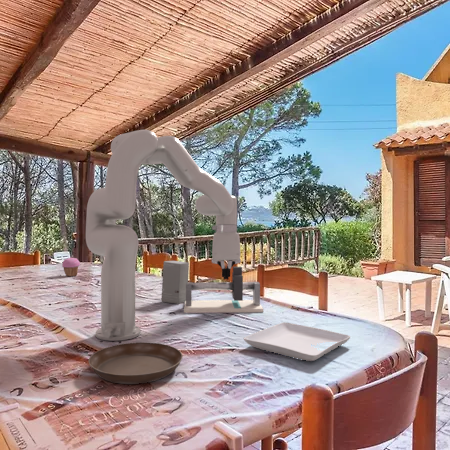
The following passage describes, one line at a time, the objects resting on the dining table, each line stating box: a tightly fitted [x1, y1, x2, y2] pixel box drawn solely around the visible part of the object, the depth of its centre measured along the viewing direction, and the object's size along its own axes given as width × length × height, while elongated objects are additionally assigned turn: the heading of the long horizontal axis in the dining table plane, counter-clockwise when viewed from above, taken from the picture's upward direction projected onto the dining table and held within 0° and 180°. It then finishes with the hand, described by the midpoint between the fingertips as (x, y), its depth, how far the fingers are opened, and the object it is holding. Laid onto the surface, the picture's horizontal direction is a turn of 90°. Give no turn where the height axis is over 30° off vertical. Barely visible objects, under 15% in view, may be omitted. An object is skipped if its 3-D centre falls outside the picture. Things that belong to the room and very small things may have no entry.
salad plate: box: [243, 322, 351, 362], centre depth 108 cm, size 21×21×3 cm
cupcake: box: [61, 257, 81, 277], centre depth 219 cm, size 9×9×10 cm
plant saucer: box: [88, 341, 184, 385], centre depth 92 cm, size 21×21×3 cm
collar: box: [231, 266, 244, 301], centre depth 151 cm, size 9×3×11 cm, turn 4°
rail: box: [186, 281, 261, 306], centre depth 151 cm, size 4×27×8 cm, turn 94°
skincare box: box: [161, 260, 190, 305], centre depth 160 cm, size 8×7×16 cm
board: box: [183, 299, 264, 314], centre depth 151 cm, size 14×28×1 cm, turn 94°
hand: (226, 278), depth 150 cm, fingers closed
